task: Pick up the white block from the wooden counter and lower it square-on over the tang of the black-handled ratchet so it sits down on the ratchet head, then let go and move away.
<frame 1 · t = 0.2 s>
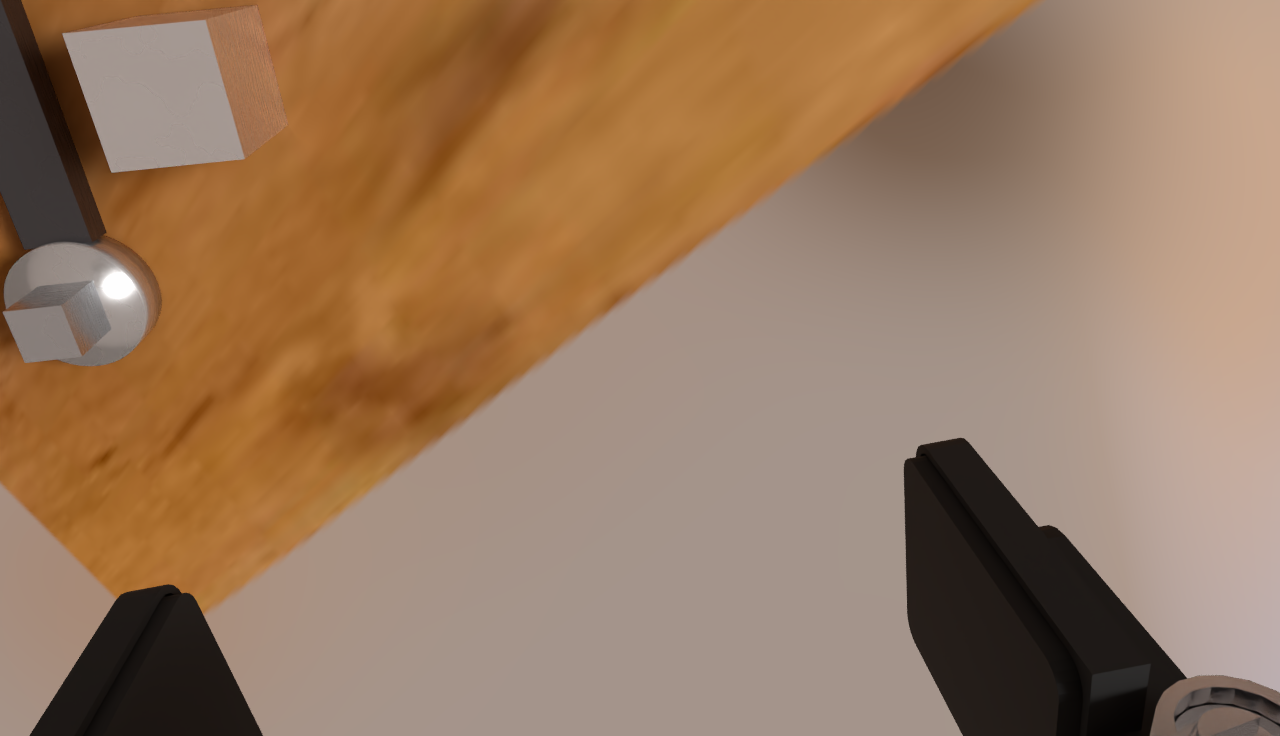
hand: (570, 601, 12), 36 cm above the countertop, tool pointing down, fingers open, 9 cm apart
ratchet: (95, 291, 46), on the countertop
white block: (214, 72, 42), on the countertop
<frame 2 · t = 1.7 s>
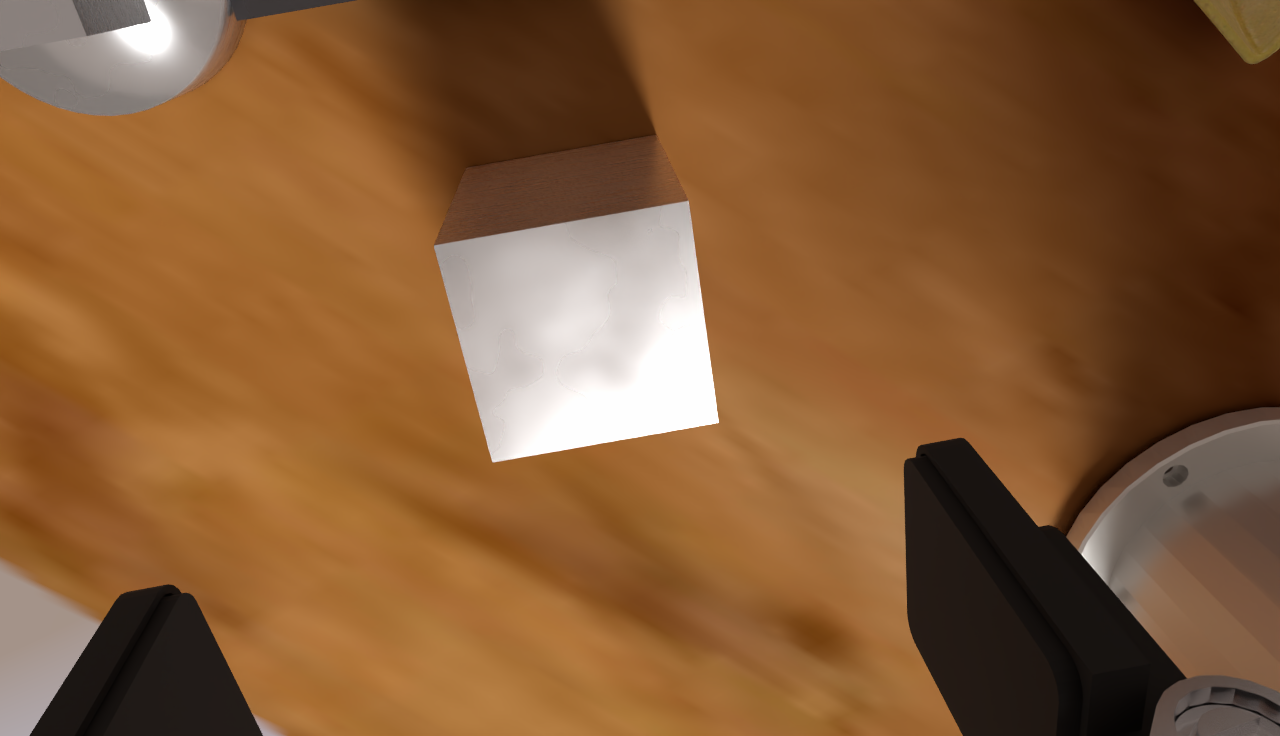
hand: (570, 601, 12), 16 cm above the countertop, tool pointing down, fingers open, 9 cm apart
white block: (579, 242, 26), on the countertop
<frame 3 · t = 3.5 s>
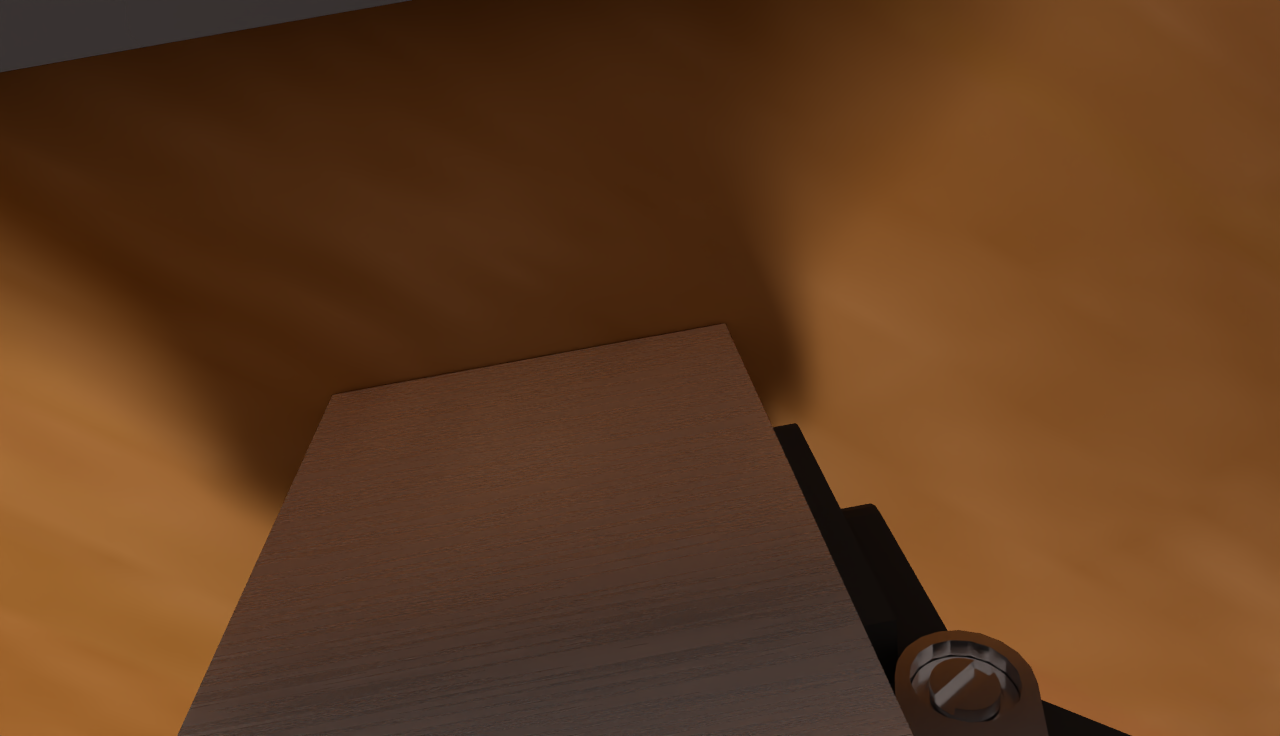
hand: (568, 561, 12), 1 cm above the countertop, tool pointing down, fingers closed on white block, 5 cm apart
white block: (567, 518, 13), on the countertop, touching gripper
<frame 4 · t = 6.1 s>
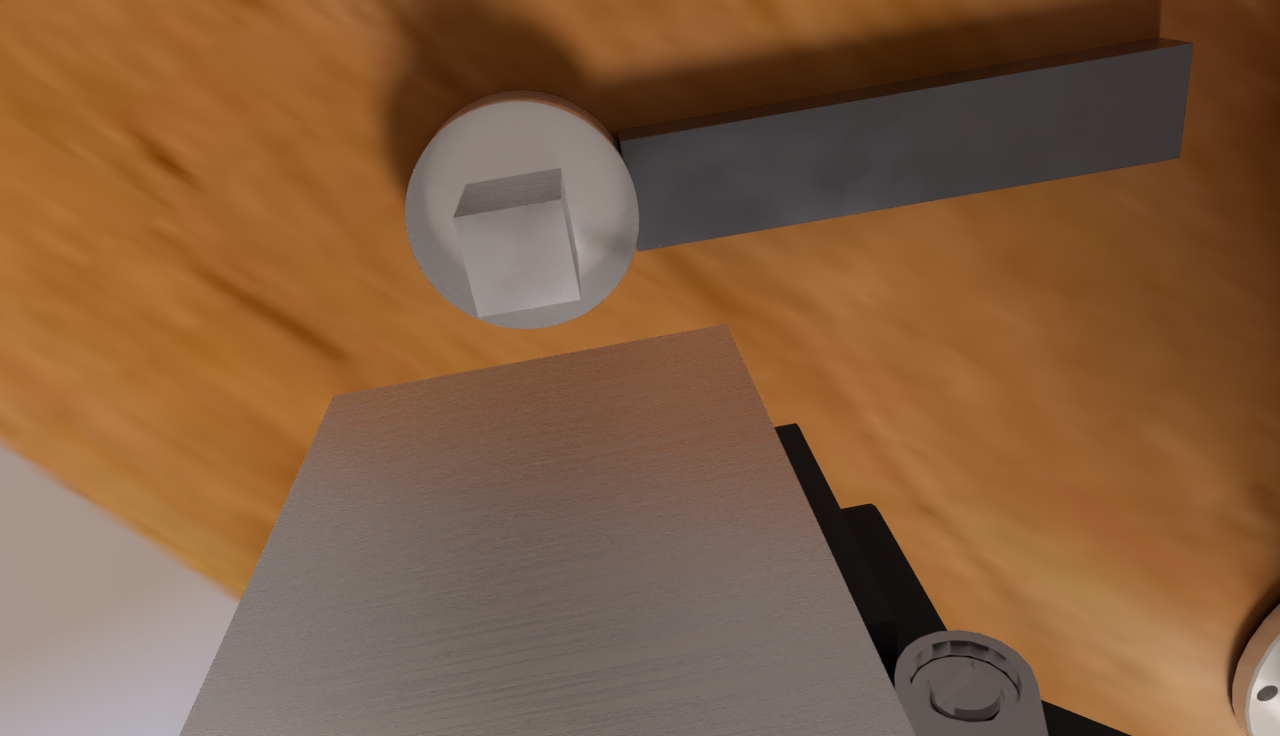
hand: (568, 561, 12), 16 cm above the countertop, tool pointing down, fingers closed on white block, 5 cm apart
ratchet: (526, 201, 27), on the countertop
white block: (568, 520, 13), point 15 cm above the countertop, touching gripper
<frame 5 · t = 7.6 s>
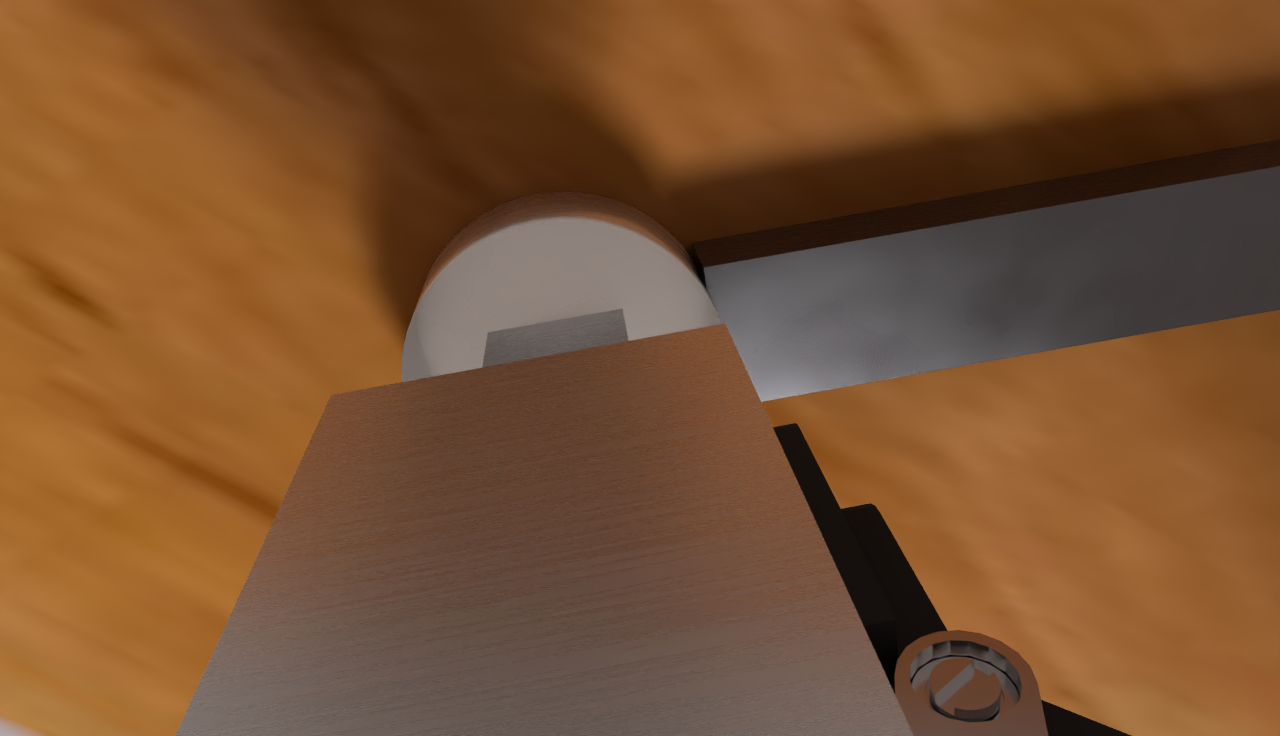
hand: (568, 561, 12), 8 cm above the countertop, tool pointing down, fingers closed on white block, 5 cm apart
ratchet: (566, 334, 20), on the countertop
white block: (566, 519, 13), point 7 cm above the countertop, touching gripper
when the fingers open (4 cm above the countertop, at t = 8.8 s): white block stays where it is, resting on ratchet.
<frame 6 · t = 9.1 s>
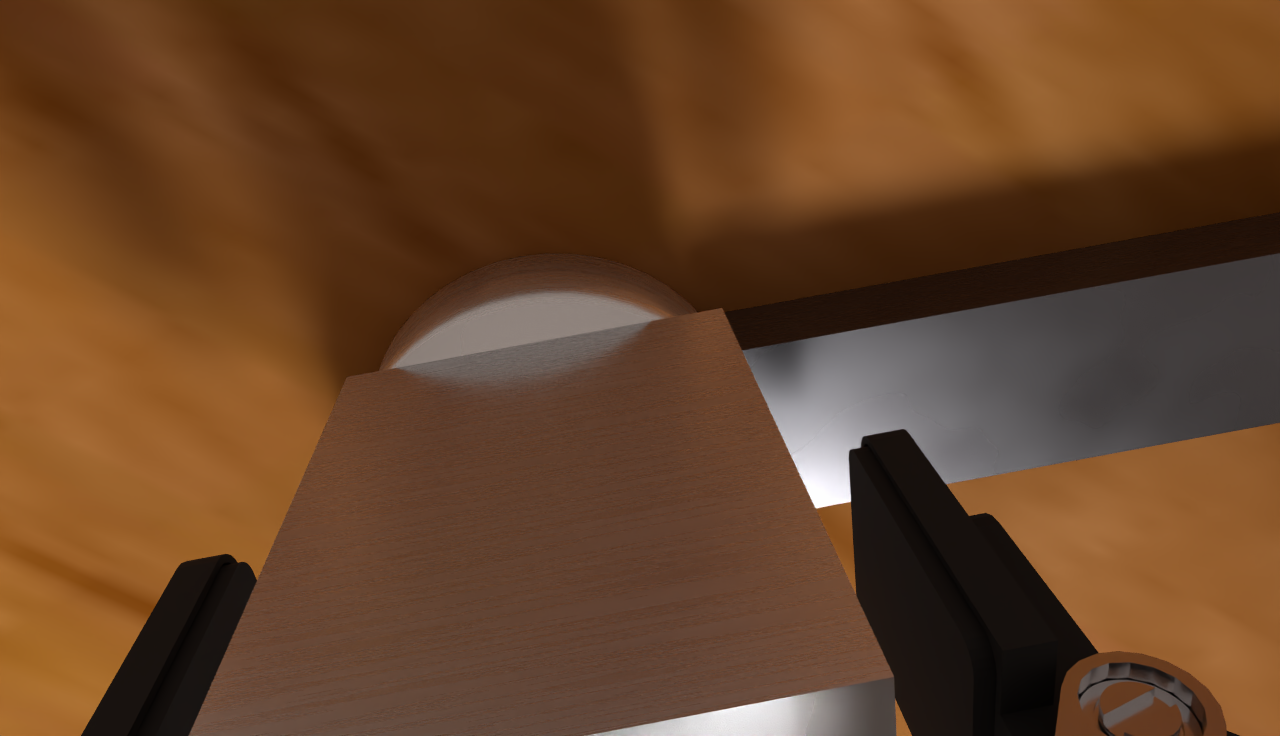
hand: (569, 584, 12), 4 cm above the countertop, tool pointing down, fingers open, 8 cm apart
ratchet: (558, 424, 16), on the countertop, touching white block
white block: (571, 497, 14), point 2 cm above the countertop, touching ratchet
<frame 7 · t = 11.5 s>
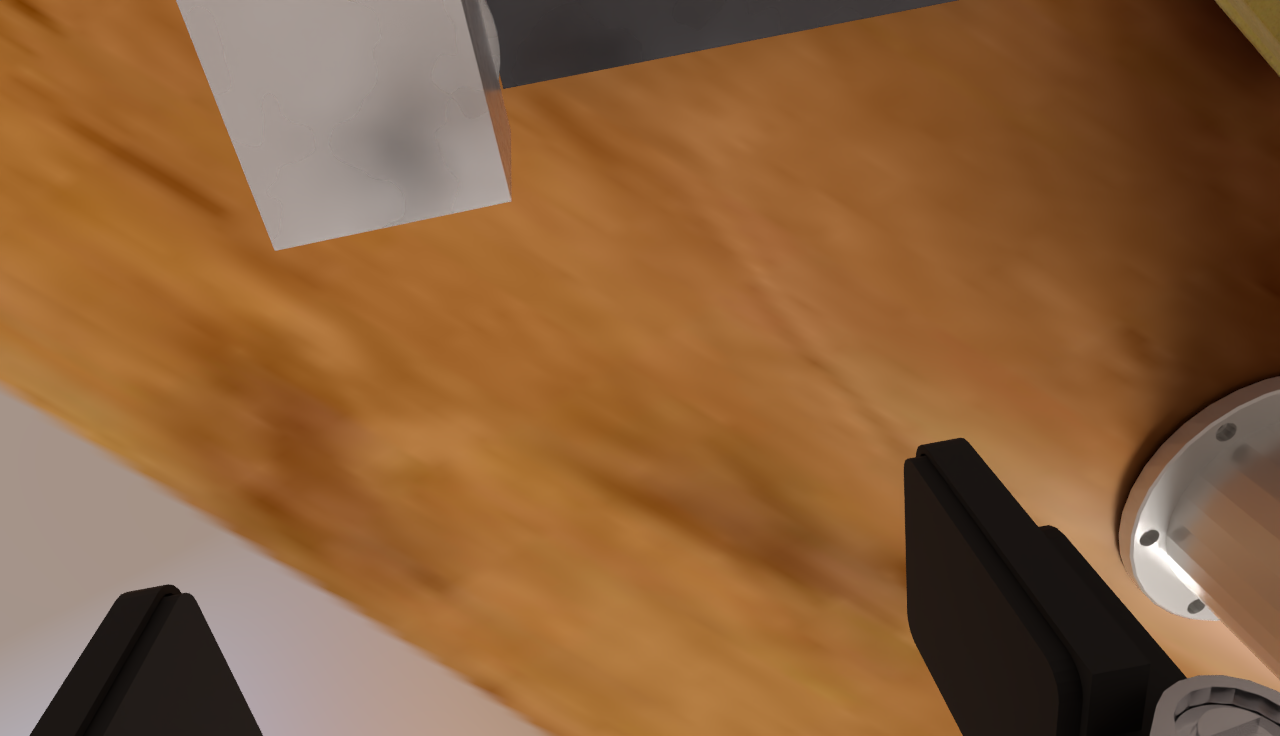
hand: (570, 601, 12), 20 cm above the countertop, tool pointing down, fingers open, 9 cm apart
ratchet: (393, 44, 27), on the countertop, touching white block
white block: (393, 55, 25), point 2 cm above the countertop, touching ratchet
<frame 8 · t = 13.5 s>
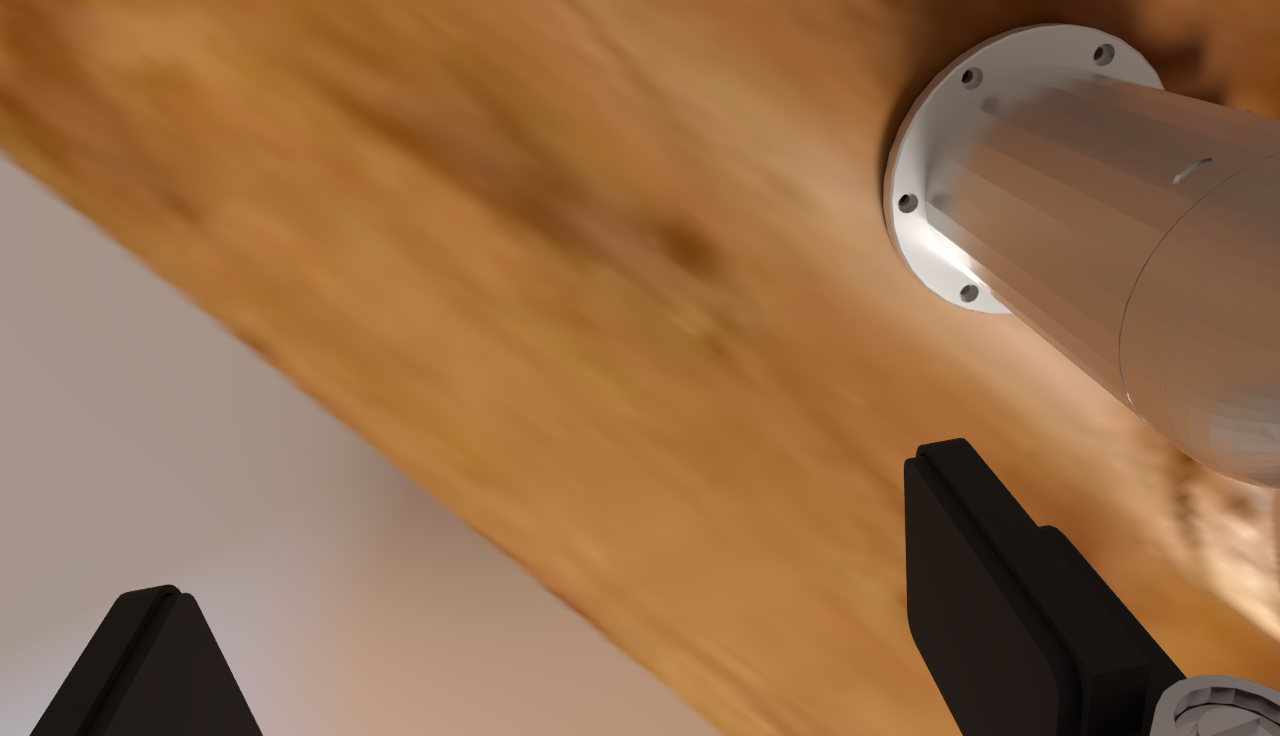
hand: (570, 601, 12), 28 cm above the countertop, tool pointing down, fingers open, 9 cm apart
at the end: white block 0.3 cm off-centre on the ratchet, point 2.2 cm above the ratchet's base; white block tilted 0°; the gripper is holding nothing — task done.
